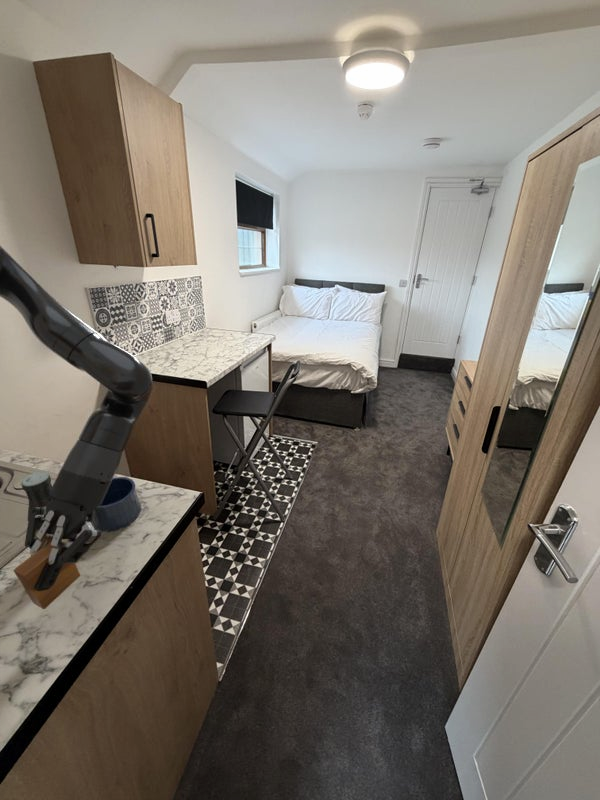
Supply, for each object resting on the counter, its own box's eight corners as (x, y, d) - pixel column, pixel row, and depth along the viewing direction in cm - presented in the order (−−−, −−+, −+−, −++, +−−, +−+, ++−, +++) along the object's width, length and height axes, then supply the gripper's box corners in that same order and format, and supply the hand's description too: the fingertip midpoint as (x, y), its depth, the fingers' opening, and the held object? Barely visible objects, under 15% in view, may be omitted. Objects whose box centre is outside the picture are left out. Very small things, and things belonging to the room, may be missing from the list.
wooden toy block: (33, 603, 50) (12, 570, 46) (70, 570, 55) (54, 537, 51) (44, 609, 49) (24, 576, 46) (81, 575, 54) (65, 542, 50)
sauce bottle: (38, 564, 64) (-1, 486, 56) (66, 539, 70) (34, 464, 61) (65, 572, 63) (30, 492, 54) (91, 546, 68) (62, 470, 60)
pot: (83, 529, 72) (74, 505, 69) (110, 498, 81) (103, 475, 78) (126, 533, 71) (118, 509, 68) (149, 500, 80) (143, 478, 77)
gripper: (38, 458, 52) (-22, 572, 47) (100, 480, 48) (41, 610, 43) (78, 466, 59) (29, 566, 54) (136, 486, 54) (89, 598, 50)
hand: (35, 585), depth 48 cm, fingers closed on wooden toy block, 2 cm apart
